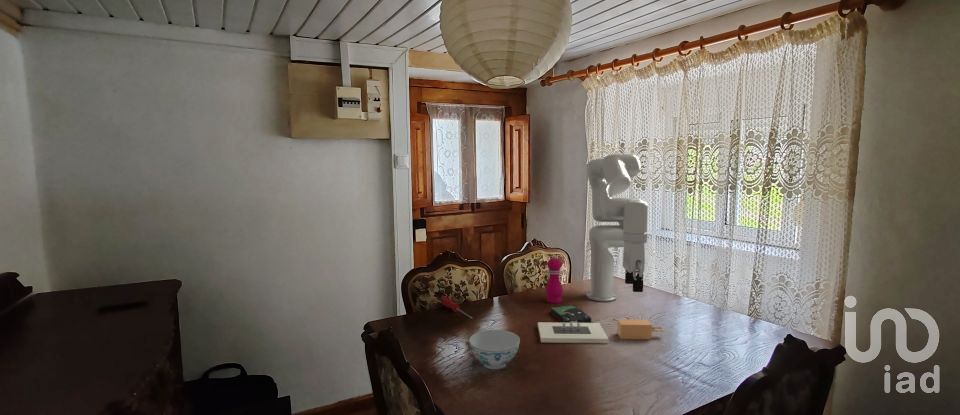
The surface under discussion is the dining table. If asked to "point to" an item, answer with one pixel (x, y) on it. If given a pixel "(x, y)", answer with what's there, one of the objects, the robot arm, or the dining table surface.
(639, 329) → the plug housing
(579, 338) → the board
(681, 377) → the dining table surface
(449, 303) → the screwdriver
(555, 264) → the pepper mill
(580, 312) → the disk drive
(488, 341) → the chinaware
